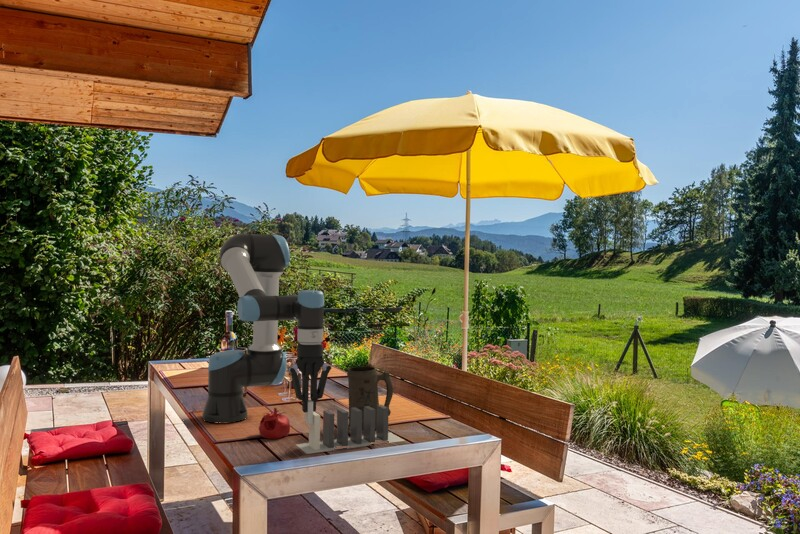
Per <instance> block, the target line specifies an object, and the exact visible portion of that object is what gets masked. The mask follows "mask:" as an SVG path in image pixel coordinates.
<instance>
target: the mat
mask: <svg viewBox="0 0 800 534" xmlns="http://www.w3.org/2000/svg"><path fill="white" fill-rule="evenodd" d="M375 440H381V439H379V438H378V437H376V433H375ZM382 441H383V440H382ZM386 441H389V443H388V444H391V443H397V442H405V441H406V440H405V439H403V438H401V437H399V436H397V434H393V433H392V432H388V440H386ZM369 443H370V442H368V441H367V440H365V439H364V438H363V435H362V444H355V443H354V442H352V441H351V440H350V437H348V446H349V448H348V449H353V448H361V447H369ZM295 445H296V446H297V447H298V448H299V449H301V451H303V452H304V453H305V454H307V455H308V454H309V455H310V454H316V453H323V452H324V453H325V452H332V450H333V451H335V450H334V449H335V448H337V447H336V446H342V445H340V444H339V443H338V442H337V438H336V439H335V438H334V447H335V448H334V447H333V448H328V447H327V446H325V445H324V444H323V440H322V441H321V440H320V449H318V450H314V449H313V448H311V447H310V446H309V442H303V443H296V444H295ZM342 447H343V446H342ZM346 447H347V446H346ZM350 447H351V448H350Z"/></svg>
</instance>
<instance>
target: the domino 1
mask: <svg viewBox="0 0 800 534" xmlns="http://www.w3.org/2000/svg"><path fill="white" fill-rule="evenodd" d="M320 441H321V415H320V414H319V412H316V411H314V412H313V424H308V443H309V446H310V447H311V448H313V449H314V450H318V449H320Z"/></svg>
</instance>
